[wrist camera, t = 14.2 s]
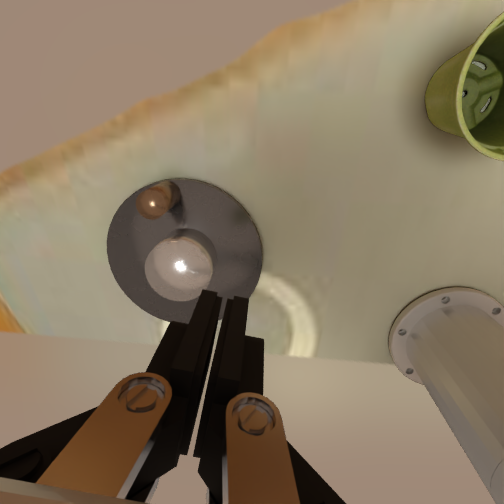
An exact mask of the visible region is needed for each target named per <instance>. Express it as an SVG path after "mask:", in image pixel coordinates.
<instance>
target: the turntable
mask: <svg viewBox="0 0 504 504" xmlns="http://www.w3.org/2000/svg"><path fill="white" fill-rule="evenodd" d="M180 228H191V229H195V230H198V231H200V232H202V233H203V234H205V235H206V236H207V237H208V238H209V239H210V240H211V241H212V243H213V244H214V247H215V249H216V253H217V263H216V266H215V269H214V271H213V274H212V276H211V279H210V282H209V284H208V286H207V288H206V290H210V291H215V292H218V294H217V296H219V297H223V298H222V304H221V309H220V314H219V319H218V320H221V319H223V315H224V311H225V306H226V302H227V298H229V299H233V298H234V296H239V297H244V298H249V297H250V296H251V294H252V293H253V291H254V289H255V287H256V285H257V283H258V280H259V277H260V272H261V266H262V248H261V242H260V238H259V234H258V232H257V229H256V227H255V224H254V223H253V221H252V219H251V217H250V216H249V214H248V213H247V212H246V211H245V209H244V208H243V207H242V206H241V205H240V204H239V203H238V202H237V201H236V200H235V199H234V198H233V197H231V196H230V195H229V194H227V193H226V192H224V191H222V190H221V189H219V188H217V187H215V186H213V185H210V184H208V183H205V182H201V181H198V180H192V179H177V178H175V179H167V180H162V181H158V182H155V183H153V184H150V185H148V186H146V187H143V188H141V189H140V190H138V191H137V192H135V193H133V194H132V195H131V196H130V197H129V198H127V199H126V200H125V201H124V202H123V204H122V205H121V206H120V207H119V209H118V210H117V212H116V213H115V215H114V217H113V219H112V222H111V224H110V227H109V231H108V237H107V254H108V260H109V264H110V267H111V271H112V273H113V275H114V277H115V279H116V281H117V283H118V284H119V286H120V288H121V289H122V290H123V291H124V293H125V294H126V295H127V296H128V297H129V298H130V299H131V300H132V301H133V302H134V303H135V304H136V305H137V306H139V307H140V308H141V309H143V310H144V311H146V312H147V313H149V314H151V315H153V316H155V317H157V318H160V319H162V320H165V321H168V322H171V321H177V322H182V323H186V324H189V322H190V319H191V317H192V314H193V312H194V309H195V307H196V304H197V302H198V299H199V297H200V296H198V297H197V298H195V299H192V300H189V301H173V300H169V299H167V298H164V297H163V296H161V295H159V294H158V293H157V292H156V291H155V290H154V289H153V288H152V287H151V286H150V284H149V282H148V280H147V278H146V274H145V262H146V259H147V257H148V255H149V253H150V252H151V251H152V250H153V249H154V248H155V247H156V245H157V244H158V243H159V242H160V241H161V240H162V239H163V238H164V237H165V236H166V235H167V234H168V233H170V232H171V231H173V230H176V229H180Z"/></svg>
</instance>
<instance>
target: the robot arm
mask: <svg viewBox="0 0 504 504" xmlns="http://www.w3.org/2000/svg"><path fill="white" fill-rule="evenodd" d="M217 294H218V292H215V291H210V290H205V289H202V292H201V294H200V297H199V299H198V302H197V304H196V307H195V309H194V312H193V314H192V317H191V319H190V322H189V324H186V323H182V322H177V321H171V322H170V324H169V326H168V328H167V330H166V332H165V334H164V336H163V338H162V340H161V342H160V344H159V346H158V348H157V350H156V352H155V354H154V356H153V358H152V360H151V362H150V364H149V366H148V368H147V370H146V372H141V373H135V374H132V375H129V376H127V377H126V378H123V379H122V380H121V381H120V382H118V383H117V384H116V385H115V387H114V388H113V389H112V390H111V392H110V393H109V394H108V395H107V396H106V398H105V399H104V400H103V402H102V403H101V404H100V405H99V406H98V407H96V408H93V409H91V410H88V411H86V412H84V413H81V414H79V415H77V416H74V417H72V418H69V419H67V420H64V421H62V422H60V423H58V424H55V425H53V426H50V427H48V428H46V429H43V430H41V431H38V432H36V433H34V434H31V435H29V436H26V437H24V438H22V439H19V440H17V441H14V442H12V443H10V444H8V445H6V446H5V447H3V448H1V449H0V504H149V503H150V501H151V499H152V497H153V494H154V492H155V490H156V488H157V485H158V482H159V478H160V476H162V475H163V474H165V473H167V472H168V471H170V470H171V469H173V468H174V467H176V466H177V463H178V459H179V455H180V454H182V455H187V453H188V449H189V445H190V441H191V437H192V433H193V429H194V425H195V421H196V417H197V413H198V409H199V405H200V400H201V396H202V392H203V388H204V384H205V380H206V376H207V372H208V368H209V363H210V359H211V354H212V349H213V344H214V339H215V334H216V329H217V324H218V319H219V314H220V309H221V304H222V298H223V297H219V296H217ZM248 303H249V298H244V297H239V296H234V298H233V299H229V298H227V302H226V306H225V311H224V315H223V319H222V323H221V328H220V332H219V336H218V340H217V345H216V349H215V353H214V358H213V362H212V366H211V370H210V375H209V380H208V384H207V389H206V394H205V399H204V404H203V410H202V414H201V419H200V424H199V429H198V434H197V439H196V444H195V449H194V454H193V457H198V458H200V463H199V468H198V473H199V475H200V476H201V478H202V479H203V481H204V482H205V484H206V485H207V487H208V488H207V493H206V504H346V503H345V502H344V501H343V500H342V499H341V498H340V497H339V496H338V495H337V493H336V492H335V491H334V490H333V489H332V488H331V487H330V486H329V485H328V484H327V483H326V482H325V481H324V480H323V479H322V478H321V476H320V475H319V474H318V473H317V472H316V471H315V470H314V469H313V468H312V467H311V466H310V465H309V464H308V463H307V461H306V460H305V459H304V458H303V457H302V456H301V455H300V454H299V453H298V452H297V451H296V450H295V449H294V448H293V447H292V445H291V444H290V443H289V442H288V441H287V440H286V435H285V431H284V426H283V421H282V418H281V415H280V412H279V409H278V408H277V407H276V405H275V404H274V403H273V402H272V401H271V400H269V399H268V398H267V397H265V396H263V373H264V369H263V368H264V339H261V338H256V337H251V336H246V335H245V330H246V321H247V312H248ZM389 350H390V354H391V357H392V359H393V361H394V363H395V364H396V366H397V368H398V369H399V370H400V371H401V372H402V373H403V375H405V376H406V377H408V378H409V379H411V380H413V381H415V382H417V383H420V384H423V385H425V387H426V389H427V390H428V392H429V393H430V395H431V397H432V399H433V400H434V402H435V404H436V405H437V407H438V408H439V410H440V412H441V413H442V415H443V417H444V418H445V420H446V422H447V423H448V425H449V427H450V428H451V430H452V432H453V433H454V435H455V437H456V438H457V440H458V442H459V443H460V445H461V447H462V448H463V450H464V452H465V453H466V455H467V456H468V458H469V460H470V461H471V463H472V465H473V466H474V468H475V470H476V471H477V473H478V474H479V476H480V478H481V480H482V481H483V483H484V485H485V486H486V488H487V490H488V491H489V493H490V495H491V496H492V498H493V500H494V501H495V503H496V504H504V307H503V306H502V305H501V304H500V303H499V302H498V301H496V300H495V299H494V298H492V297H491V296H489V295H488V294H486V293H484V292H481V291H479V290H475V289H471V288H461V287H453V288H445V289H441V290H437V291H433V292H431V293H428V294H426V295H424V296H422V297H420V298H418V299H417V300H415V301H414V302H412V303H411V304H410V305H408V306H407V307H406V308H405V309H404V310H403V311H402V312H401V313H400V315H399V316H398V317H397V319H396V320H395V322H394V324H393V326H392V328H391V331H390V335H389Z"/></svg>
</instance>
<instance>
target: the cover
mask: <svg viewBox="0 0 504 504" xmlns="http://www.w3.org/2000/svg"><path fill="white" fill-rule="evenodd" d="M216 263H217V253H216V249H215V247H214V244H213V243H212V241H211V240H210V239H209V238H208V237H207V236H206V235H205V234H203V233H202V232H200V231H198V230H195V229H191V228H180V229H176V230H173V231H171V232H170V233H168V234H167V235H166V236H165V237H164V238H163V239H162V240H161V241H160V242H159V243H158V244H157V245H156V247H155V248H154V249H153V250H152V251H151V252H150V253H149V255H148V257H147V259H146V262H145V274H146V278H147V280H148V282H149V284H150V286H151V287H152V288H153V289H154V290H155V291H156V292H157V293H158V294H159V295H161V296H163V297H164V298H167V299H169V300H173V301H189V300H192V299H195V298H197V297H198V296H200V294H201V292H202V289H205V290H206V288H207V286H208V284H209V282H210V279H211V276H212V274H213V271H214V269H215V266H216Z"/></svg>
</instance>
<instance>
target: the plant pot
mask: <svg viewBox="0 0 504 504" xmlns="http://www.w3.org/2000/svg"><path fill="white" fill-rule="evenodd" d="M473 61H480V62H482V63H484V64H485V65H486V67H487V69H486V70H483V69H482V68H480V67H478V66H477V65H475V64H472V62H473ZM464 90H466V91H467V95H466V96H465V97H462V92H463V91H464ZM490 96H491V98H492V100H491V102H490V104H489V106H488V107H487V109H486V110H485V111H484V112H482V113H481V112H480V111H481V109H482V108H483V107H484V106H485V104H486V103H487V101H488V99H489V97H490ZM425 104H426V109H427V114H428V118H429V120H430V121H431V122H432V124H433V125H435V126H436V127H437V128H439V129H440V130H443V131H445V132H448V133H451V134H454V135H457V136H460V137H463V138H465V139H466V140H467V142H468V143H469V144H470V145H471V146H472V147H473V148H474V149H475V150H477V151H478V152H480V153H481V154H483V155H485V156H487V157H490V158H493V159H496V160H500V161H504V12H503V13H502V14H500V15H499V16H498V17H497V18H496V19H495V20H494V21H492V22H491V23H490V25H489V26H488V27H487V28H486V29H485V30H484V31H483V32H482V33H481V35H480V36H479V37H478V39H477V40H476V42H475V43H473V44H472V45H470V46H469V47H468V48H466V49H464V50H463V51H461V52H460V53H458V54H457V55H455V56H454V57H452V58H451V59H449V60H448V61H446V62H445V63H444V64H443V65H442V66H441V67H440V68H439V69H438V70H437V71H436V72H435V74H434V75H433V77H432V78H431V80H430V82H429V84H428V87H427V90H426V94H425Z"/></svg>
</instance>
